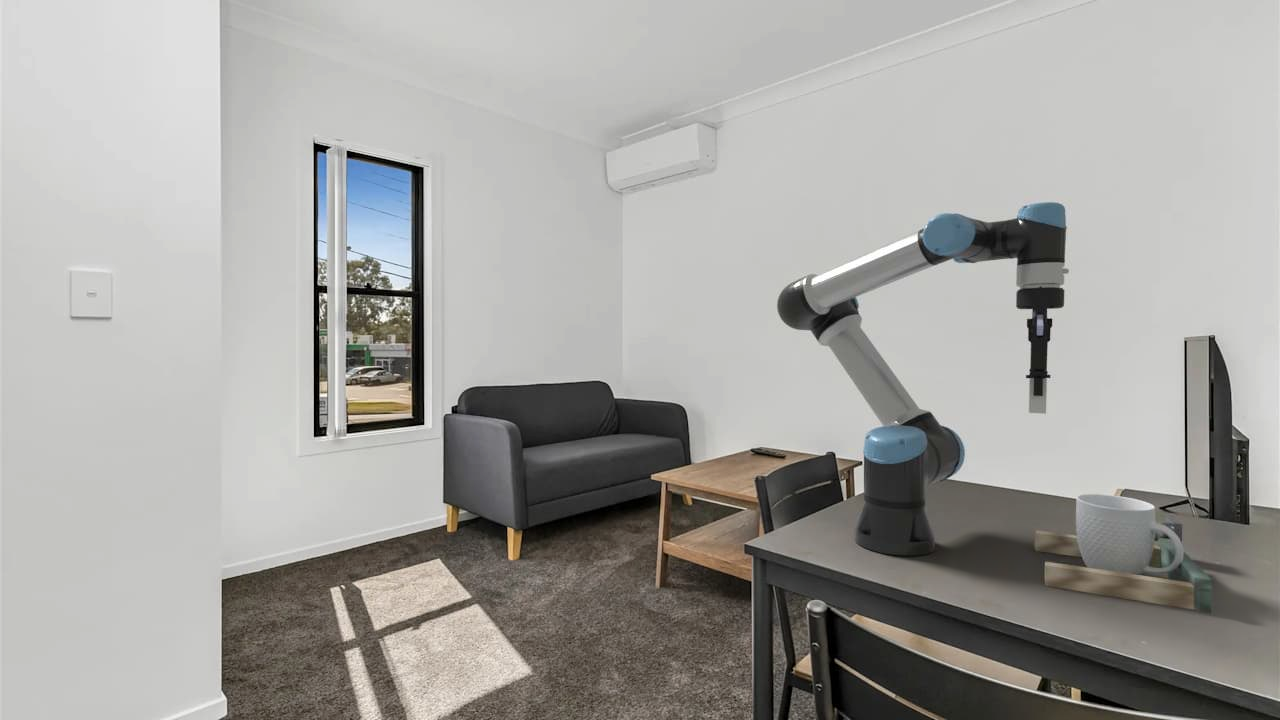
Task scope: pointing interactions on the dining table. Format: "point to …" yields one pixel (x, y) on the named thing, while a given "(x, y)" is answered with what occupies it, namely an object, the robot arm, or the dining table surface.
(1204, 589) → the bay
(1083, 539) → the mug
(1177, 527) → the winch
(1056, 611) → the dining table surface
